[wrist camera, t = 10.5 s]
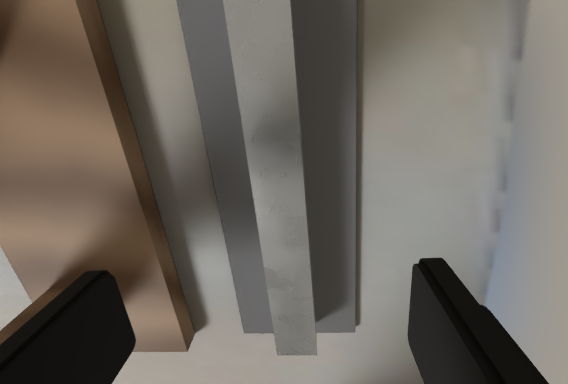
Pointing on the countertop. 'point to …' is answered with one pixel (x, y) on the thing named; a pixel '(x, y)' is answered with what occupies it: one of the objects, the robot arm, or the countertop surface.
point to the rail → (275, 162)
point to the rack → (78, 173)
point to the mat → (316, 148)
